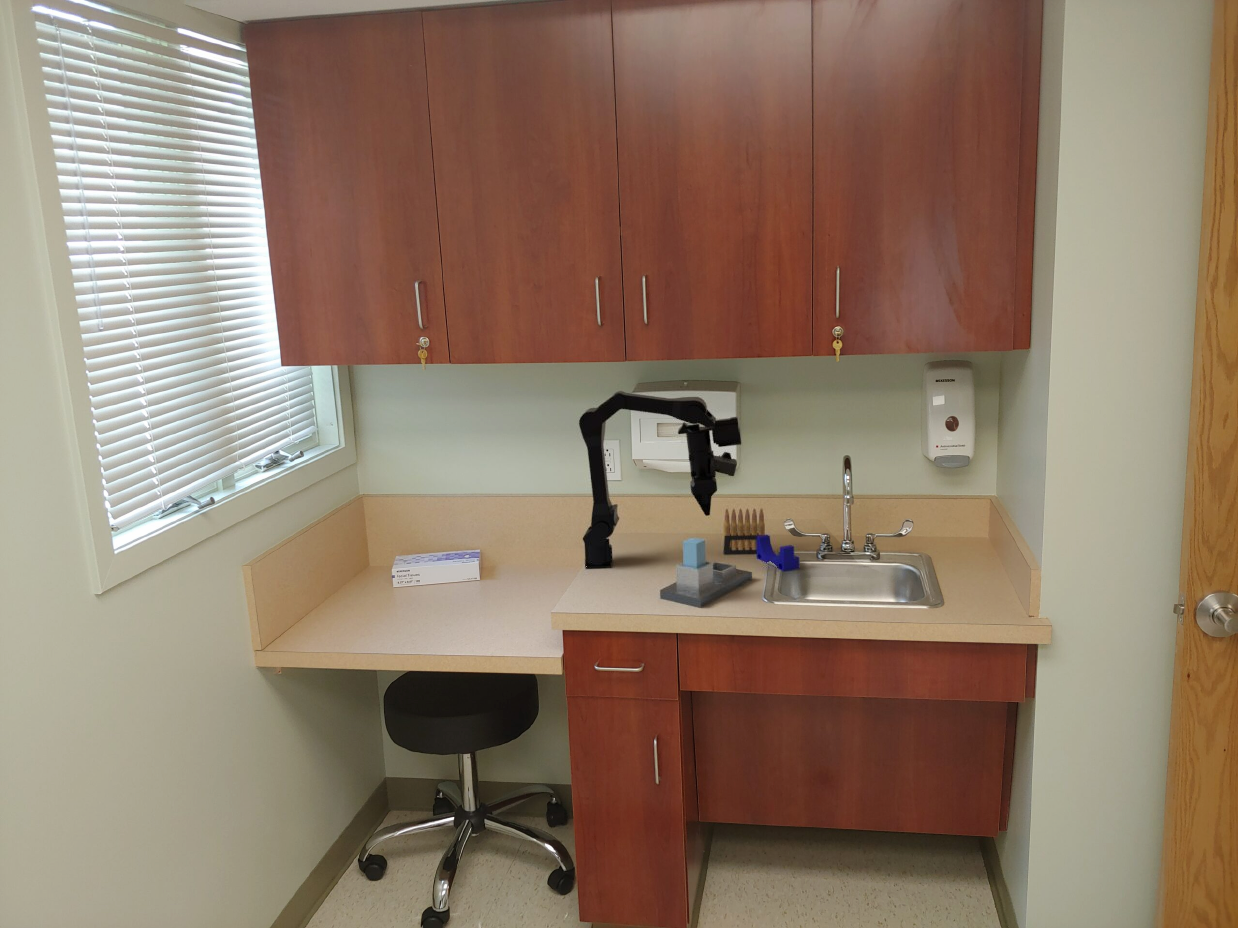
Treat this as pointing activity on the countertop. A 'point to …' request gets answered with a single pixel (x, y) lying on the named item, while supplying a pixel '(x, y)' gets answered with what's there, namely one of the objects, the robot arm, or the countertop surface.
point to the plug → (694, 553)
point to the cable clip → (782, 561)
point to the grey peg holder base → (704, 583)
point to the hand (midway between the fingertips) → (707, 509)
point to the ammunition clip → (742, 533)
